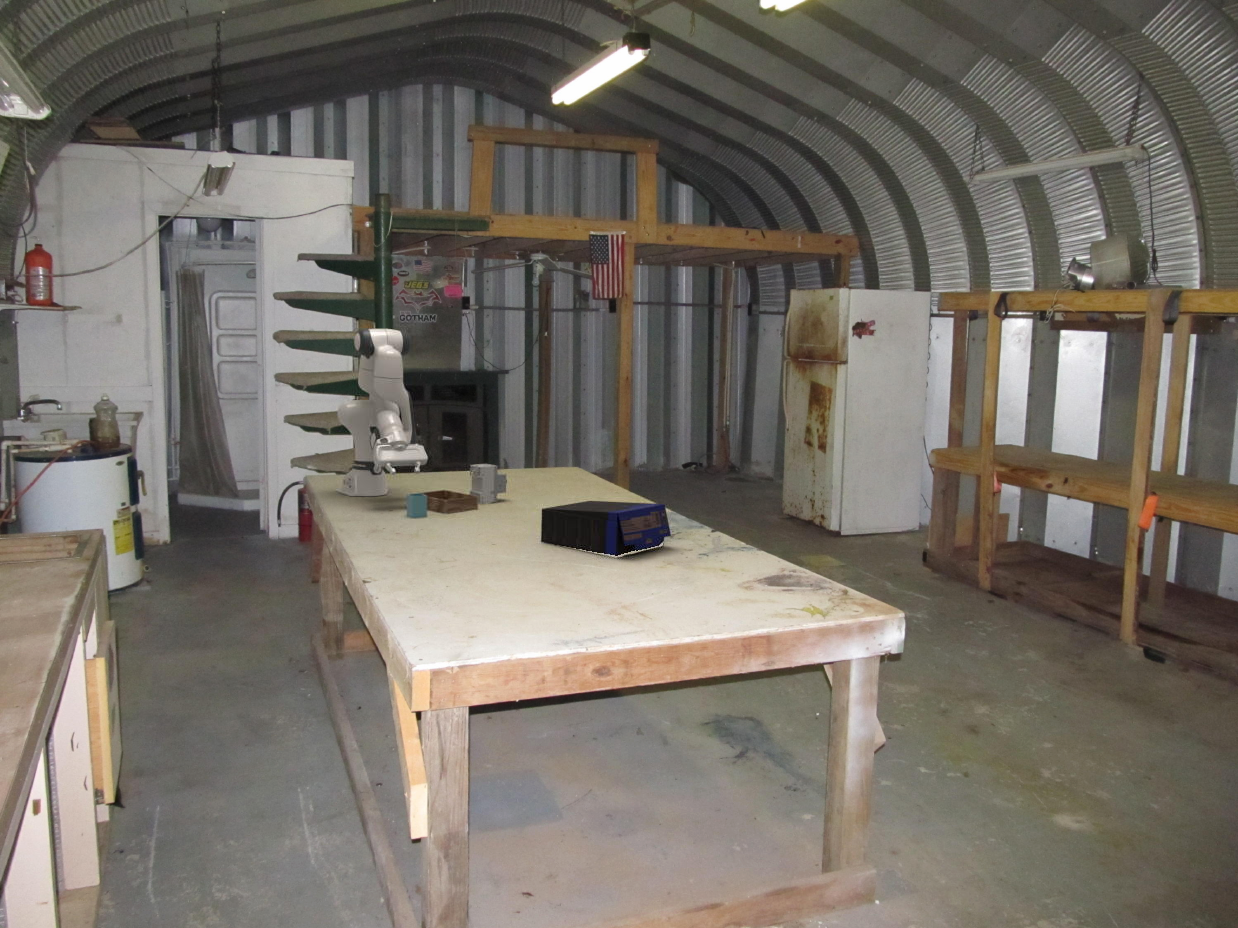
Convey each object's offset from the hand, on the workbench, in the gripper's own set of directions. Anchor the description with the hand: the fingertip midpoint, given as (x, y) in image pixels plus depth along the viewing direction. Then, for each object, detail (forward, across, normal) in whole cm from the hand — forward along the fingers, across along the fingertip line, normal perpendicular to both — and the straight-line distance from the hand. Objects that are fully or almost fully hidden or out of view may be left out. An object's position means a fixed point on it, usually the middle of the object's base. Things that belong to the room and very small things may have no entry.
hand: (405, 473), depth 351 cm
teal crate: (+19, 0, -2) cm, 19 cm away
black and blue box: (+69, -37, +48) cm, 92 cm away
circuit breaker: (+5, -38, -15) cm, 41 cm away
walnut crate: (+10, -16, -10) cm, 22 cm away
